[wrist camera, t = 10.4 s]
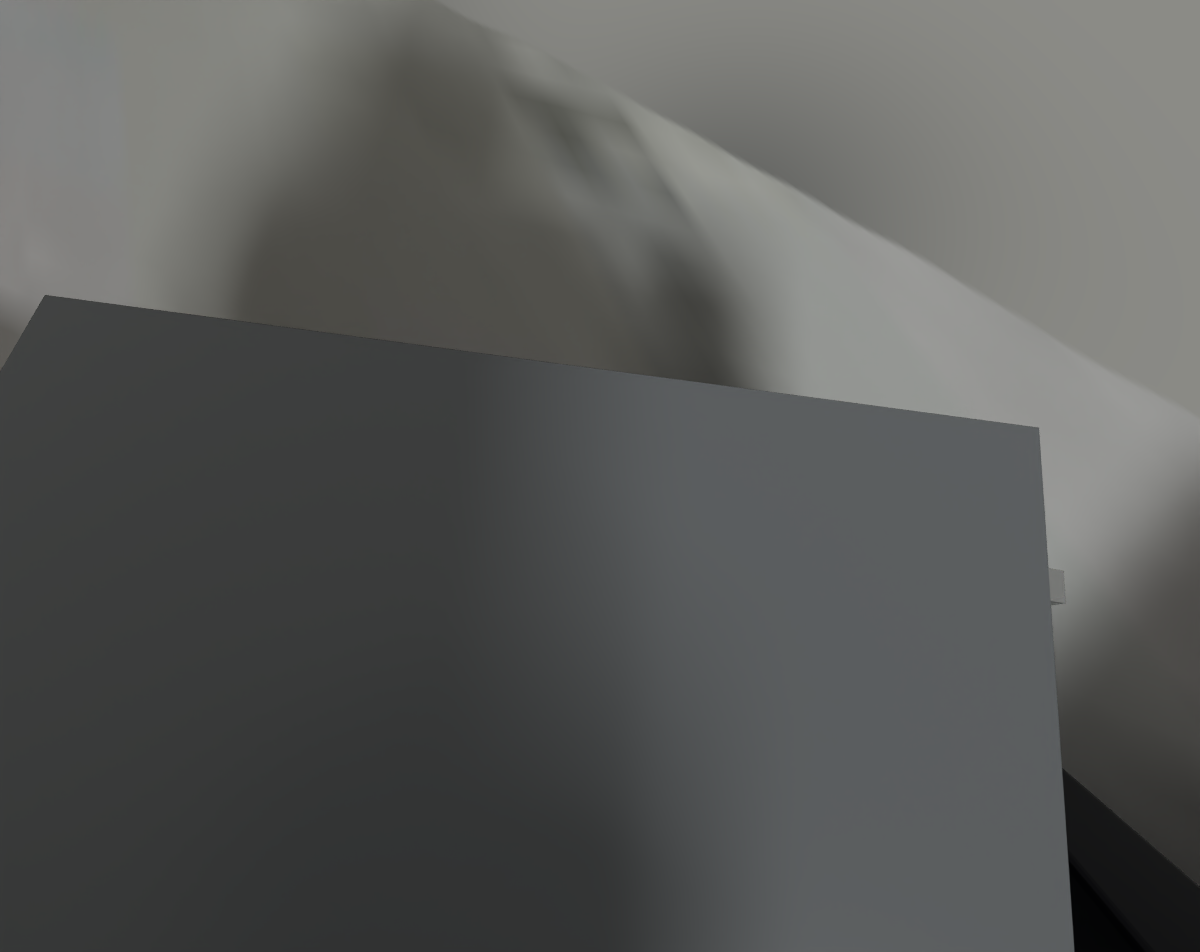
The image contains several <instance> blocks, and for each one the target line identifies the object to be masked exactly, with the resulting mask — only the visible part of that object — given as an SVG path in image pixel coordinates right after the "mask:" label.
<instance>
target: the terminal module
mask: <svg viewBox="0 0 1200 952" xmlns="http://www.w3.org/2000/svg"><path fill="white" fill-rule="evenodd" d="M0 952H1074V938H1073V924H1072V909H1071V894H1070V879H1069V865H1068V850H1067V835H1066V820H1065V806H1064V791H1063V776H1062V761H1061V747H1060V732H1059V717H1058V702H1057V687H1056V673H1055V658H1054V643H1053V628H1052V614H1051V599H1050V584H1049V569H1048V555H1047V540H1046V525H1045V510H1044V496H1043V481H1042V466H1041V451H1040V436H1039V428H1037V427H1030V426H1022V425H1015V424H1007V423H1000V422H992V421H985V420H977V419H970V418H963V417H955V416H948V415H940V414H933V413H925V412H918V411H910V410H903V409H895V408H888V407H880V406H873V405H865V404H858V403H850V402H843V401H835V400H828V399H820V398H813V397H805V396H798V395H790V394H783V393H775V392H768V391H760V390H753V389H745V388H738V387H730V386H723V385H715V384H708V383H700V382H693V381H685V380H678V379H670V378H663V377H655V376H648V375H640V374H633V373H625V372H618V371H610V370H603V369H595V368H588V367H580V366H573V365H565V364H558V363H550V362H543V361H535V360H528V359H520V358H513V357H506V356H498V355H491V354H483V353H476V352H468V351H461V350H453V349H446V348H438V347H431V346H423V345H416V344H408V343H401V342H393V341H386V340H378V339H371V338H363V337H356V336H348V335H341V334H333V333H326V332H318V331H311V330H303V329H296V328H288V327H281V326H273V325H266V324H258V323H251V322H243V321H236V320H228V319H221V318H213V317H206V316H198V315H191V314H183V313H176V312H168V311H161V310H153V309H146V308H138V307H131V306H123V305H116V304H108V303H101V302H93V301H86V300H78V299H71V298H63V297H56V296H48V295H45V296H44V297H43V299H42V301H41V303H40V304H39V306H38V308H37V309H36V311H35V313H34V315H33V316H32V318H31V320H30V321H29V323H28V325H27V327H26V328H25V330H24V332H23V333H22V335H21V337H20V339H19V340H18V342H17V344H16V345H15V347H14V349H13V351H12V352H11V354H10V356H9V357H8V359H7V361H6V363H5V364H4V366H3V368H2V369H1V371H0Z"/></svg>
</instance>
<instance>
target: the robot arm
mask: <svg viewBox="0 0 1200 952" xmlns="http://www.w3.org/2000/svg"><path fill="white" fill-rule="evenodd" d="M1062 776H1063V791H1064V806H1065V820H1066V835H1067V850H1068V865H1069V879H1070V894H1071V909H1072V924H1073V938H1074V952H1200V887H1199V886H1198V885H1197V884H1196V883H1195V882H1193V881H1192V880H1191V879H1190V878H1189V877H1188V876H1186V875H1185V874H1184V873H1183V872H1182V871H1181V870H1179V869H1178V868H1177V867H1176V866H1175V865H1174V864H1173V863H1171V862H1170V861H1169V860H1168V859H1167V858H1166V857H1164V856H1163V855H1162V854H1161V853H1160V852H1159V851H1158V850H1156V849H1155V848H1154V847H1153V846H1152V845H1151V844H1149V843H1148V842H1147V841H1146V840H1145V839H1144V838H1143V837H1141V836H1140V835H1139V834H1138V833H1137V832H1136V831H1134V830H1133V829H1132V828H1131V827H1130V826H1129V825H1127V824H1126V823H1125V822H1124V821H1123V820H1122V819H1121V818H1119V817H1118V816H1117V815H1116V814H1115V813H1114V812H1112V811H1111V810H1110V809H1109V808H1108V807H1107V806H1106V805H1104V804H1103V803H1102V802H1101V801H1100V800H1099V799H1097V798H1096V797H1095V796H1094V795H1093V794H1092V793H1091V792H1089V791H1088V790H1087V789H1086V788H1085V787H1084V786H1082V785H1081V784H1080V783H1079V782H1078V781H1077V780H1076V779H1074V778H1073V777H1072V776H1071V775H1070V774H1069V773H1067V772H1066V771H1065V770H1064V769H1063V768H1062Z"/></svg>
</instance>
